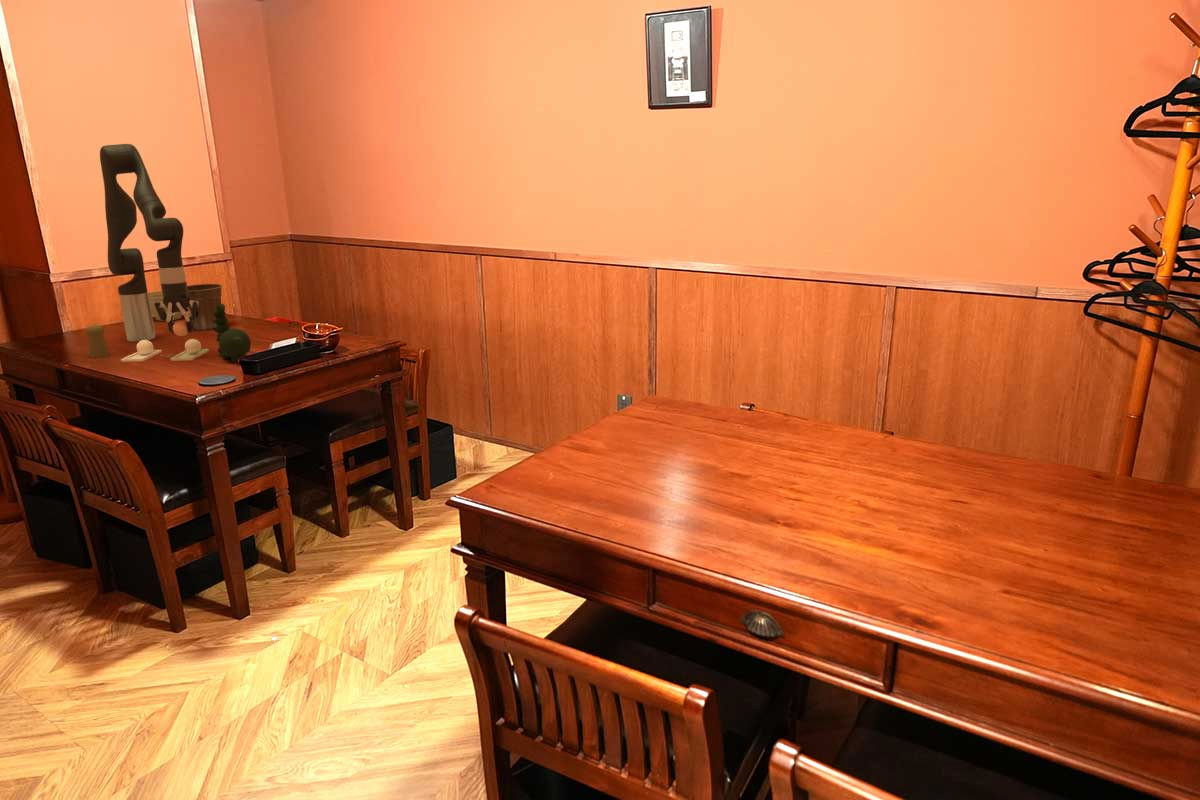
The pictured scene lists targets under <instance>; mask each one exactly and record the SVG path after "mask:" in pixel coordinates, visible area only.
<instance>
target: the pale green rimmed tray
mask: <svg viewBox="0 0 1200 800" xmlns="http://www.w3.org/2000/svg"><path fill="white" fill-rule="evenodd" d="M208 352H210V349H209V348H203V349H202V348H201V349H200V351H199V352H198V353H195V354H191V353H189V352H187V351H186V350H184V351H182V352H180V353H178V354H175V355H173V356H171V357H169V358H170V361H171V362H173V361H174V362H175V361H179V362H181V361H193V360H195V359H197V358H198V357H201V356H202V355H204V354H207V353H208Z"/></svg>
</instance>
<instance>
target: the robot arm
mask: <svg viewBox="0 0 1200 800" xmlns="http://www.w3.org/2000/svg"><path fill="white" fill-rule="evenodd" d="M99 161H100V167H101V172H102V179H103V188H104V203H105V204H104V207H105V219H106V220H105V221H106V228H107V265H108V268H109V269H108V270H109V271H110V273H111V275H114V276H128V275H133V277H132V278H131V279H130V280H129V281H127V282H125V283H122V284H121V285H119V286H118V288H117V292H118V296H119V302H120V308H121V312H122V313H121V314H122V318H123V319H122V320H123V325H124V330H125V335H126V339H127V342H140V341H141V340H148V341H151V340H154V339H156V336H157V335H156V330H155V324H154V319H153V315H152V312H151V309H150V303H149V298H148V293H149V292H148V288H147V281H146V275H145V273H146V272H145V265H144V258H143V254H142V252H141V250H140V249H139V248H137V247H136V248H134V247H133V248H122V246H123V243H124V241H125V240H126V239H127V238H128V237H129V235H130V234H132V232H133V230H134V229H135V227H136V225H137V222H138V215H137V208H138V210H139V212H140V213H141V215H142V218H143V221H144V225H145V232H146V236H147V237H148V238H149V239H150V240H152V241H154V242H164V241H166V242H168V241H169V243H168V245H167V246H165V247H163V248H159V249H158V250H157V251H156V258H157V259H156V260H157V265H158V276H159V282H160V287H161V291H162V295H163V301H161V302H156V303H155V304H154V305H155V307H156V310H157V312H158V314H159V317H160V319H161V320H165V321H164V322H166V323H167V327H168V331H169V332H170V333H171V334H175V333H174V331H173V325H174V323H176V322H175V320H173V319H174V315H175V312H181V313H182V317H184V319H185V322H186V325H187V331H188V334H190V333H193V331H194V330H195V329H194V326H193V320H194V319H196V318H198V315H199V304H200V302H199V301H192V300H190V298H189V296H188V288H187V286H188V283H187V278H186V277H187V276H186V271H185V269H184V264H183V258H182V247H183V237H184V226H183V224H182V222H181V221H180V220H179V219H178V217H177V218H176V217H165V216H166V214H167V209H166V207H165V205H164V204H163V202H162V200H161V198H160V197H159V196H158V193H157V192H156V190H155V188H154V186H153V182H152V181H151V177H150V176H149V172H148V171H147V168H146V166H145V164H144V161H143V158H142V156H141V154H140V152H139V151H138V149H137V147H136V146H135V145H133V144H131V143H120V144H119V143H118V144H107V145H103V146H101V147H100V149H99ZM132 173H133V174H135V176H136V181H135V185H134V189H133V195H132V196H133V199H132V196H130V195H129V194H128V193H127V192H126V191H125V190H124V189H123V187H121V185H120V183H119V182H118V179H117V176H118V175H124V174H132ZM189 304H191V307H192V315H191V312H190V310H189V308H188V306H189ZM164 305H165V306H166V307H167V308H168V310H167V314H166V312H165V310H164Z"/></svg>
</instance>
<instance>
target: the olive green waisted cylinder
mask: <svg viewBox="0 0 1200 800" xmlns="http://www.w3.org/2000/svg"><path fill="white" fill-rule="evenodd" d="M104 332H105V329H104V327H103V326H102V325H100V324H94V325H93V324H92V325H88V326H87V327H86V328H85V334H86V335H87V336H88V351H89V353H88V354H89V358H90V359H101V358H102V359H103V358H108V357H109V356H110V355H111V354H110V352H109V349H108V346H107V342H106V340H105V338H104V335H103V334H104Z"/></svg>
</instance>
